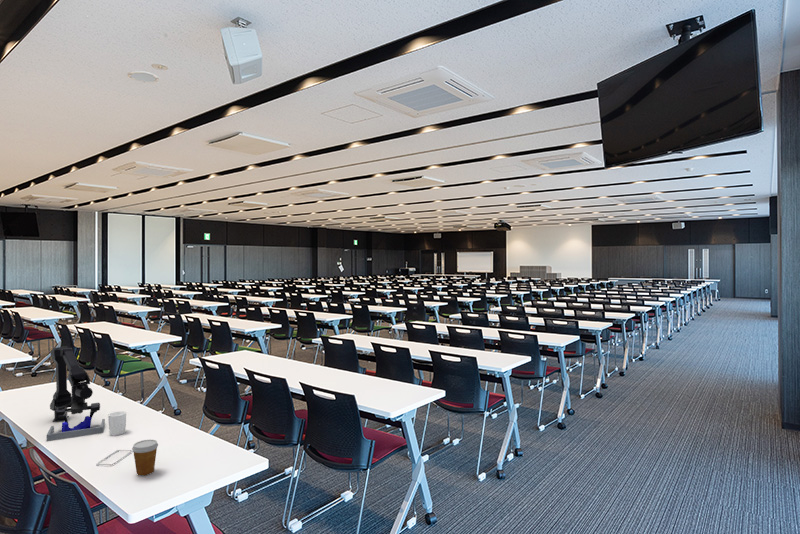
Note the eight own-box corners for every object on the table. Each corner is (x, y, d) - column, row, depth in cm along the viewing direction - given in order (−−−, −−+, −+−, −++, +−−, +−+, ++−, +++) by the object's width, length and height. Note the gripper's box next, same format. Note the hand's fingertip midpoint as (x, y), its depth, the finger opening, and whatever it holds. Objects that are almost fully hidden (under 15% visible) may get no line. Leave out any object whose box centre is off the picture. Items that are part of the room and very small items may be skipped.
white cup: (130, 431, 240) (129, 412, 240) (115, 437, 233) (114, 417, 233) (119, 429, 244) (119, 410, 243) (104, 434, 236) (104, 414, 236)
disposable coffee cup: (138, 467, 199) (138, 439, 199) (162, 466, 200) (162, 438, 200) (127, 478, 190) (127, 448, 190) (152, 477, 191) (152, 447, 190)
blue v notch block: (86, 425, 247) (86, 414, 246) (90, 428, 244) (91, 417, 244) (60, 433, 237) (60, 421, 236) (64, 436, 234) (64, 424, 234)
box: (51, 431, 240) (51, 425, 240) (104, 424, 251) (104, 418, 251) (46, 441, 228) (46, 435, 228) (102, 432, 239) (102, 426, 239)
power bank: (112, 467, 201) (133, 452, 216) (112, 464, 201) (133, 449, 216) (95, 467, 201) (117, 452, 216) (95, 463, 201) (117, 449, 216)
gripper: (53, 402, 232) (54, 434, 233) (98, 397, 241) (99, 427, 242) (57, 396, 242) (57, 427, 242) (100, 391, 251) (100, 420, 251)
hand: (78, 425), depth 244 cm, fingers open, 9 cm apart
